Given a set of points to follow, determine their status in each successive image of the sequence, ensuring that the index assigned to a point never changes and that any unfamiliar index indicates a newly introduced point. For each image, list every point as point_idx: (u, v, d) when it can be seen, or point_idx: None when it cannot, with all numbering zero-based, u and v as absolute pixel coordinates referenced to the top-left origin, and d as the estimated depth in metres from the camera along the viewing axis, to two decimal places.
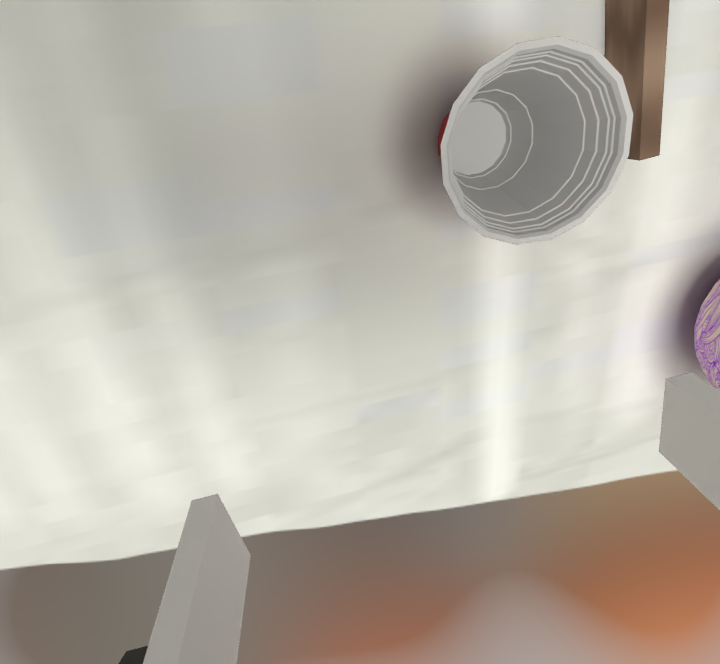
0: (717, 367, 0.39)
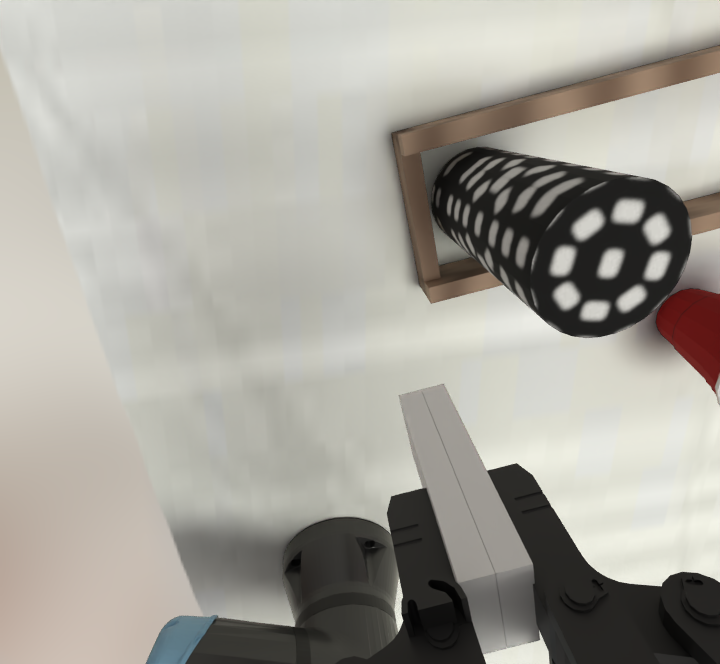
0: None
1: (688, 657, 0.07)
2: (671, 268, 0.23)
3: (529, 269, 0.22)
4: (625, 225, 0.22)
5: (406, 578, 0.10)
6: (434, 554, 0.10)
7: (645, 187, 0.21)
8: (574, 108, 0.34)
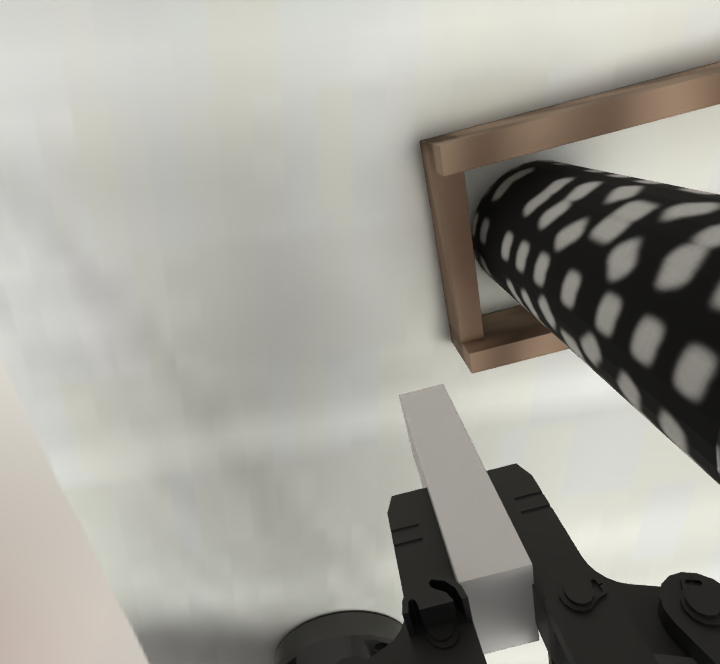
0: None
1: (687, 658, 0.07)
2: None
3: (718, 413, 0.12)
4: None
5: (407, 578, 0.10)
6: (435, 554, 0.10)
7: None
8: (692, 107, 0.23)
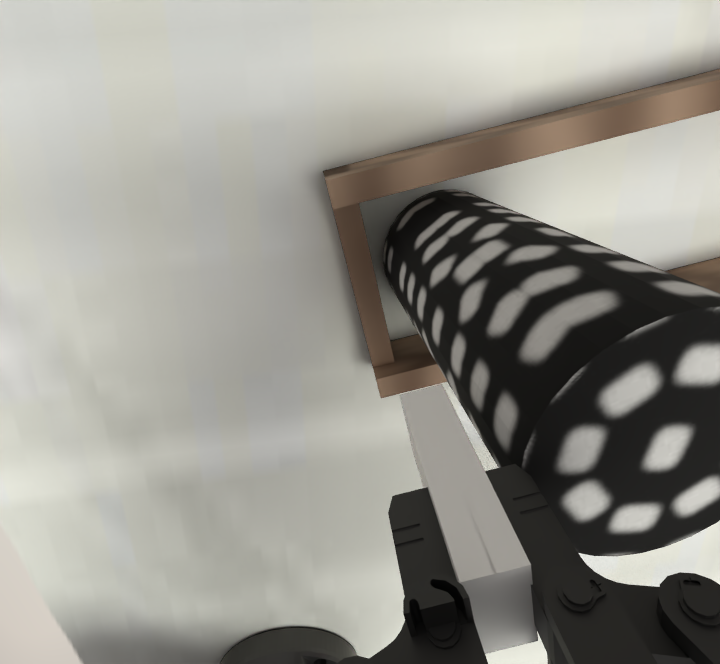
0: None
1: (685, 658, 0.07)
2: None
3: (518, 465, 0.12)
4: (698, 387, 0.11)
5: (408, 577, 0.10)
6: (435, 554, 0.10)
7: None
8: (574, 143, 0.24)
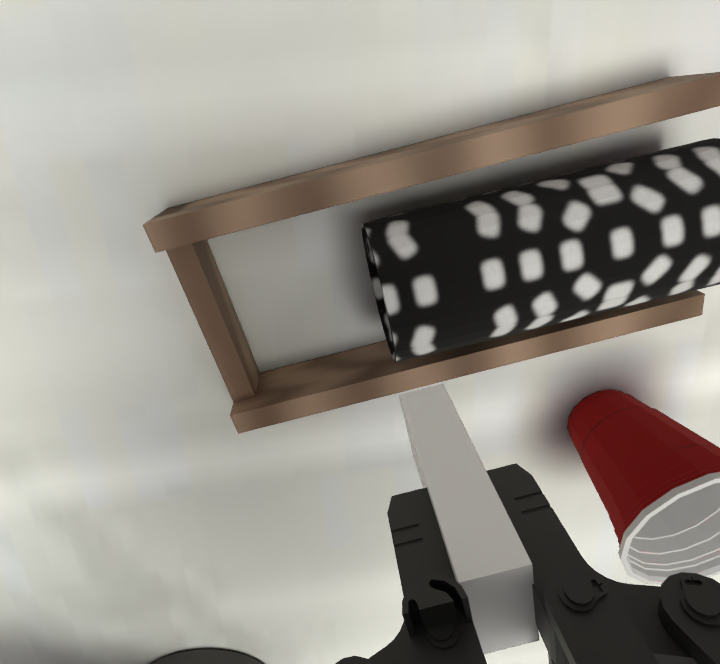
0: None
1: (687, 658, 0.07)
2: None
3: None
4: None
5: (407, 578, 0.10)
6: (435, 554, 0.10)
7: None
8: (397, 185, 0.23)
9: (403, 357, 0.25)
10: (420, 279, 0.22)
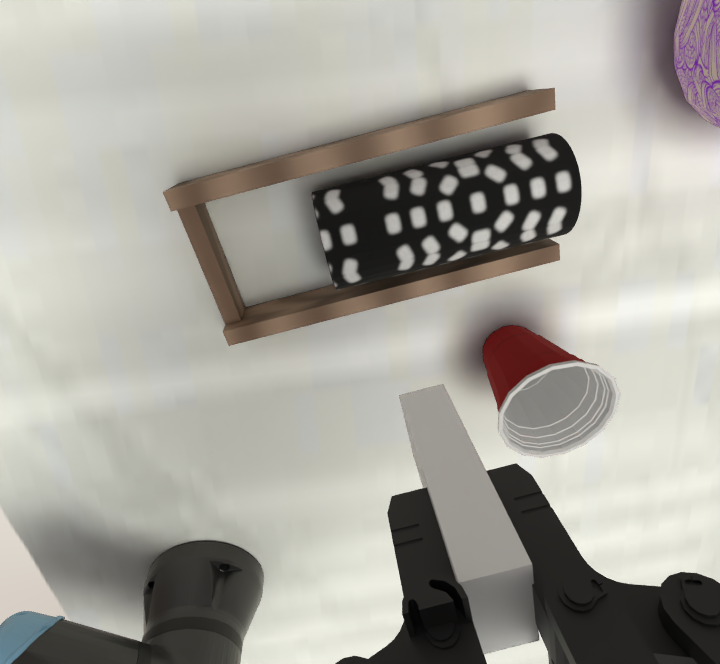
0: None
1: (687, 658, 0.07)
2: None
3: (579, 185, 0.34)
4: None
5: (407, 578, 0.10)
6: (435, 554, 0.10)
7: None
8: (332, 165, 0.35)
9: (339, 283, 0.36)
10: (345, 226, 0.34)
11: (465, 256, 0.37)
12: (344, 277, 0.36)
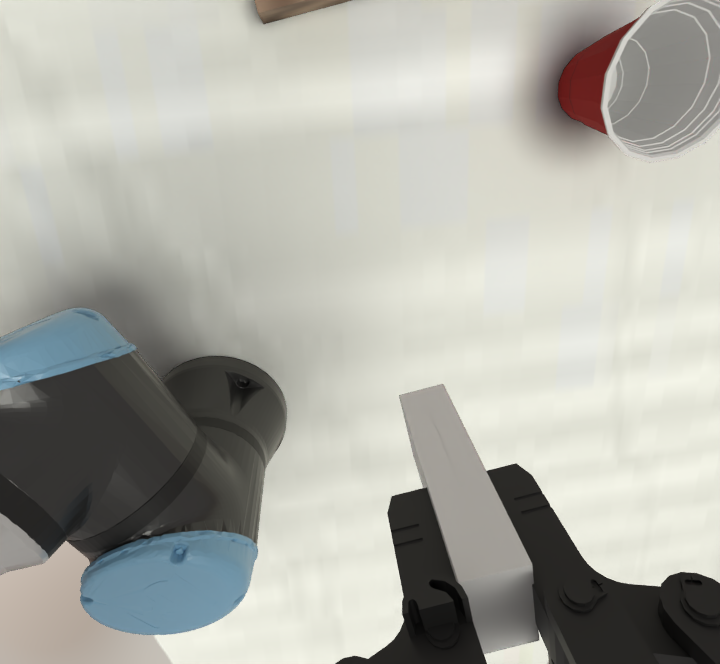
0: None
1: (687, 658, 0.07)
2: None
3: None
4: None
5: (407, 578, 0.10)
6: (435, 554, 0.10)
7: None
8: None
9: None
10: None
11: None
12: None
